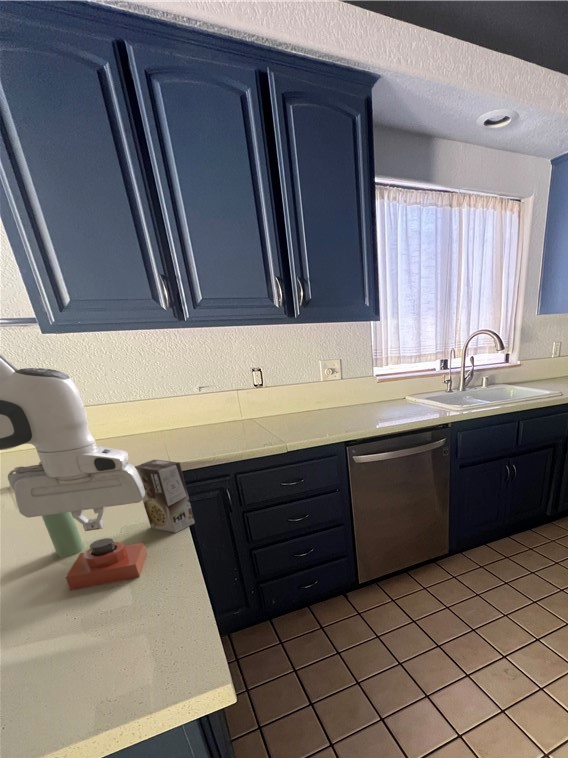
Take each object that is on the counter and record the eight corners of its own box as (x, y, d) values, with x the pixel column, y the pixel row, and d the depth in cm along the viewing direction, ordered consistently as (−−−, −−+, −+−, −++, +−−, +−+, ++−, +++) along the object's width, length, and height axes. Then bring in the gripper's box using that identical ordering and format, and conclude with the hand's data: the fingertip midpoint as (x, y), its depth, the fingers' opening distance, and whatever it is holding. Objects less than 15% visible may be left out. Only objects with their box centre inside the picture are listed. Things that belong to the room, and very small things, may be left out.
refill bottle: (54, 558, 94) (26, 490, 87) (61, 547, 98) (35, 482, 92) (81, 553, 95) (55, 486, 89) (87, 543, 100) (63, 479, 93)
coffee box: (196, 522, 108) (181, 461, 101) (175, 533, 103) (158, 470, 96) (170, 517, 112) (154, 458, 105) (149, 528, 106) (131, 466, 100)
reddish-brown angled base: (70, 590, 82) (61, 568, 80) (84, 565, 90) (77, 544, 88) (139, 577, 85) (132, 555, 83) (147, 554, 94) (141, 534, 92)
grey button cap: (90, 558, 84) (87, 549, 83) (95, 549, 87) (92, 540, 86) (113, 554, 85) (110, 545, 84) (117, 545, 88) (114, 536, 87)
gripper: (-5, 473, 72) (25, 545, 78) (130, 459, 78) (149, 526, 84) (11, 463, 78) (38, 531, 83) (136, 450, 84) (153, 514, 89)
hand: (94, 528), depth 84 cm, fingers closed
